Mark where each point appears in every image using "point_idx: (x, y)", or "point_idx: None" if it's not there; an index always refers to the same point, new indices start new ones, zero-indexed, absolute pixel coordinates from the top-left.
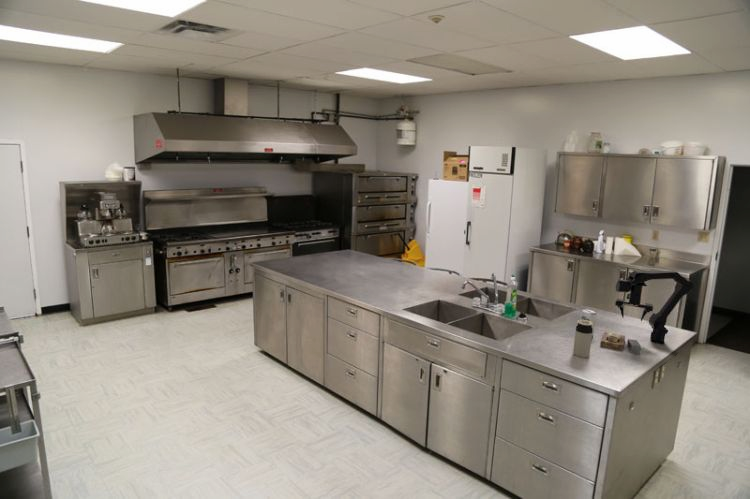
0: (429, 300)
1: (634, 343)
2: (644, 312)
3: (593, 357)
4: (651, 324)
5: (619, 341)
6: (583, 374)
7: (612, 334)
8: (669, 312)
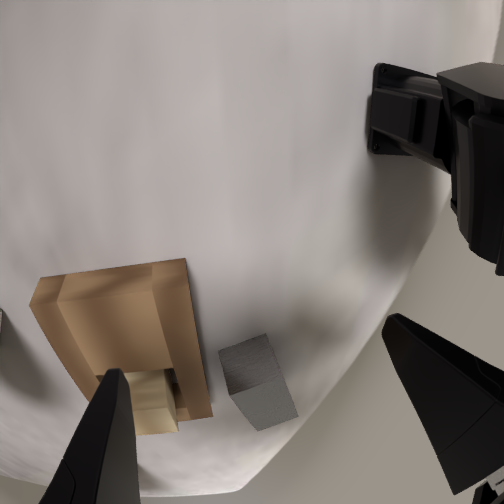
0: None
1: (269, 414)
2: (456, 469)
3: (146, 460)
4: (468, 200)
5: (183, 393)
6: (171, 492)
7: (138, 423)
8: None
